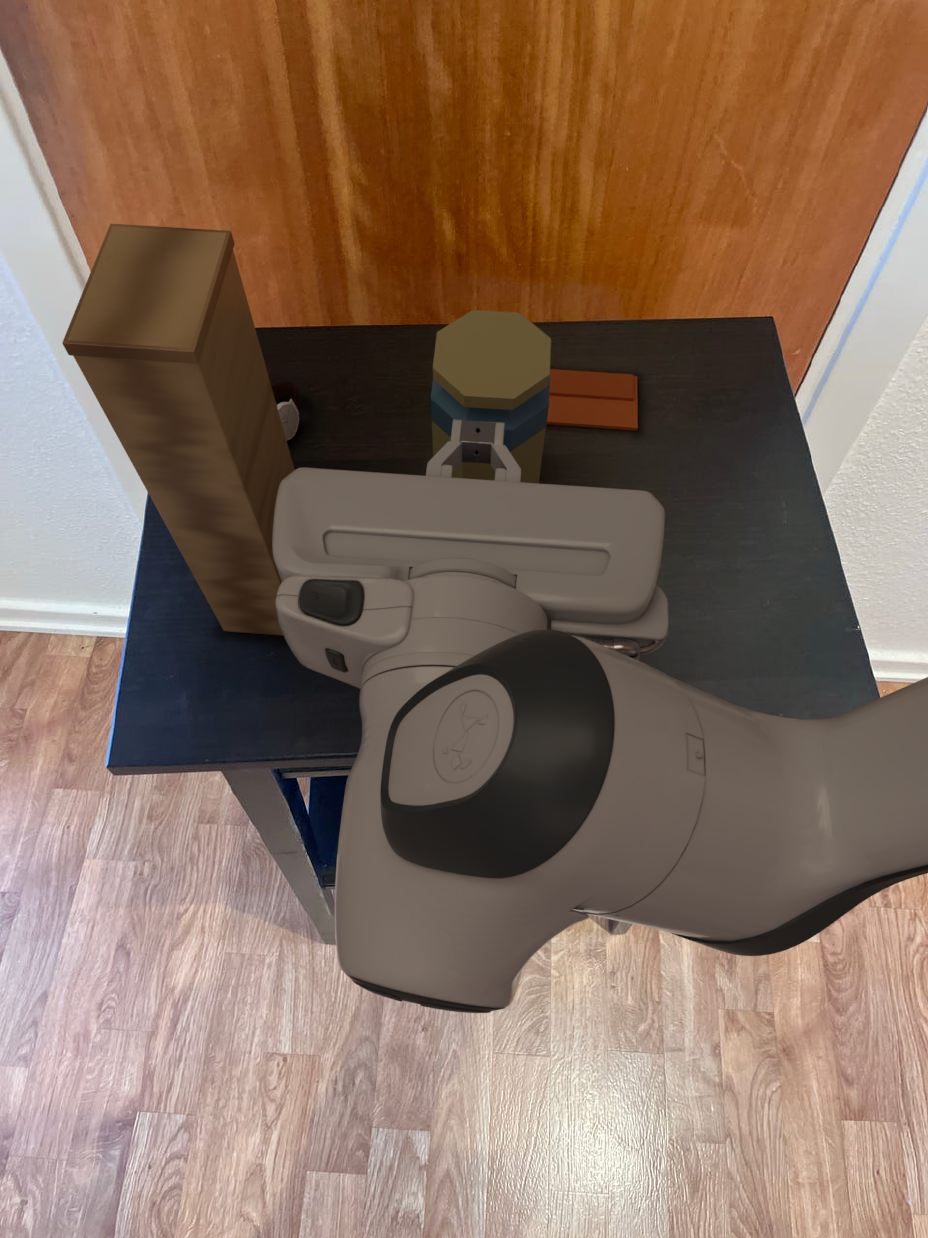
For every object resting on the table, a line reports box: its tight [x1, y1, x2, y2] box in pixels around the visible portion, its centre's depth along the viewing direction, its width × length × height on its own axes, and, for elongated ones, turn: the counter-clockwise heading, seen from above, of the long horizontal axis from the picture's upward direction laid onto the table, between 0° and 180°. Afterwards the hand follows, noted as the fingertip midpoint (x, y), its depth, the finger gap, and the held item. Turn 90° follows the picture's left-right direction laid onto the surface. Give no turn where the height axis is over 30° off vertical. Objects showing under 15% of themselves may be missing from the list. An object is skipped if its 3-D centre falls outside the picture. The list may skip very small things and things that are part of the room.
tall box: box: [62, 223, 296, 637], centre depth 55 cm, size 6×8×30 cm
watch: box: [271, 380, 303, 442], centre depth 74 cm, size 8×5×4 cm, turn 153°
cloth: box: [546, 368, 639, 431], centre depth 77 cm, size 14×6×1 cm, turn 85°
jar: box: [430, 309, 552, 483], centre depth 66 cm, size 9×9×15 cm
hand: (478, 427), depth 49 cm, fingers closed
